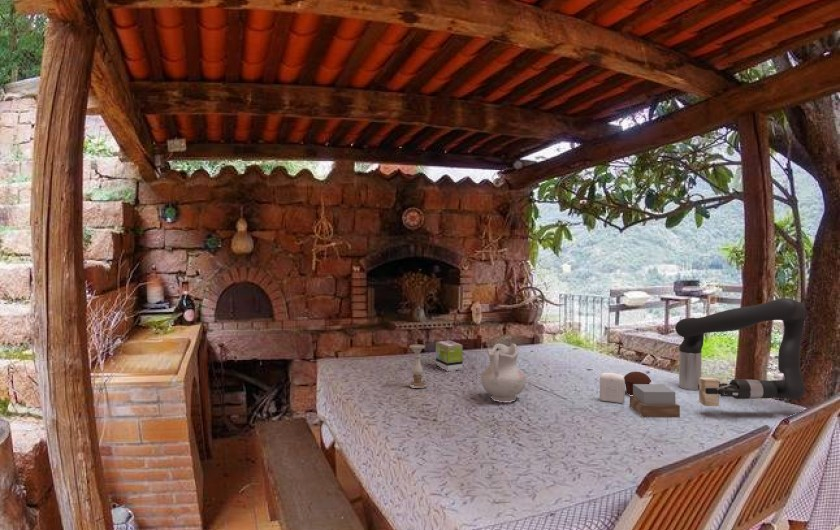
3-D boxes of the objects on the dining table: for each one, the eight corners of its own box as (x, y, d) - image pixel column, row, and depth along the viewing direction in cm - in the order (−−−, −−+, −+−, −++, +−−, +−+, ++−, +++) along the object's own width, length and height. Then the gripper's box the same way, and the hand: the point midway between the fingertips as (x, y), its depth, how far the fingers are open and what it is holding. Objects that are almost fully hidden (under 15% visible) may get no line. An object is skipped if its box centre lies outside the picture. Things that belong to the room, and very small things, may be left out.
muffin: (622, 395, 225) (622, 373, 224) (624, 389, 234) (624, 368, 234) (651, 399, 219) (650, 376, 219) (652, 392, 229) (652, 371, 229)
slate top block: (633, 395, 208) (633, 384, 208) (662, 396, 208) (662, 384, 208) (644, 404, 197) (644, 391, 196) (675, 404, 196) (675, 392, 196)
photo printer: (625, 401, 216) (625, 373, 216) (624, 404, 212) (624, 375, 212) (600, 398, 221) (600, 370, 221) (598, 400, 217) (598, 372, 217)
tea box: (435, 367, 286) (434, 341, 286) (450, 365, 290) (450, 339, 290) (447, 372, 272) (447, 345, 272) (463, 370, 277) (463, 344, 276)
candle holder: (419, 390, 237) (418, 348, 237) (404, 387, 242) (404, 346, 242) (430, 386, 244) (429, 345, 244) (415, 383, 249) (415, 343, 249)
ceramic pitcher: (523, 410, 208) (528, 351, 207) (477, 404, 212) (481, 346, 211) (523, 396, 229) (527, 343, 228) (481, 391, 233) (485, 338, 232)
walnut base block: (629, 407, 209) (629, 395, 209) (663, 407, 209) (663, 395, 208) (643, 418, 195) (643, 405, 195) (679, 418, 195) (679, 405, 194)
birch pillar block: (699, 402, 200) (699, 377, 200) (711, 402, 200) (712, 377, 199) (705, 406, 195) (705, 380, 195) (718, 406, 195) (719, 380, 194)
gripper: (735, 375, 204) (693, 375, 204) (757, 384, 189) (712, 384, 190) (735, 393, 204) (692, 393, 204) (757, 404, 189) (711, 404, 190)
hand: (702, 389), depth 197 cm, fingers closed on birch pillar block, 5 cm apart
